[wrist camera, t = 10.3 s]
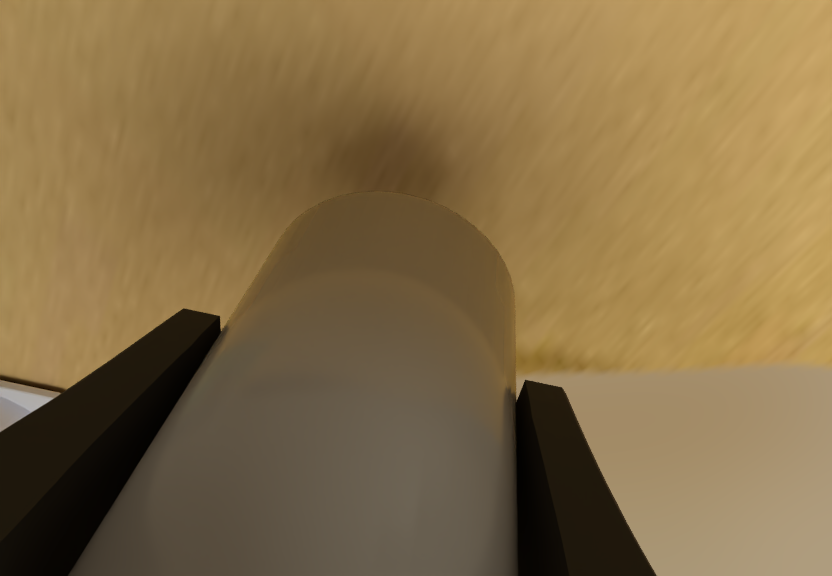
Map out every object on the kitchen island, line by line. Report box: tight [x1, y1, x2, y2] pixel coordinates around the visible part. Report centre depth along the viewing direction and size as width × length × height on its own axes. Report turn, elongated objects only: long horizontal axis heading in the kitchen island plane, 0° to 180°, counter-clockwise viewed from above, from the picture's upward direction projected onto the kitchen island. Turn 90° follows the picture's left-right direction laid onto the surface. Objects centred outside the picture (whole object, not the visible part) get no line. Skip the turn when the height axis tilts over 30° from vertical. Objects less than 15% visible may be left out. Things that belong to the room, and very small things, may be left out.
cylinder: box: [68, 191, 518, 576], centre depth 9 cm, size 5×5×7 cm
